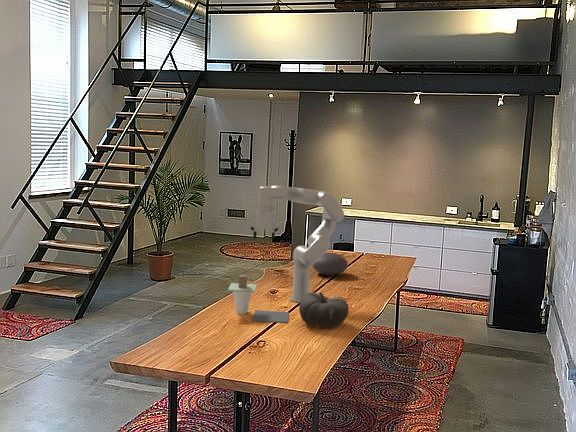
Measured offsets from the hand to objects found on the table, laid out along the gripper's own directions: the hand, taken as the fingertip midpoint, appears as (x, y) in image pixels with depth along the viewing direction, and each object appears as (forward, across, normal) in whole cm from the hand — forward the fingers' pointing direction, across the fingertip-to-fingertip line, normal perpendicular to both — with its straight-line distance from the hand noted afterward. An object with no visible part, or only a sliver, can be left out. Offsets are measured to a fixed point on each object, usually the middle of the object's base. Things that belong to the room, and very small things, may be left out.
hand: (263, 239), depth 353 cm
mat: (+36, -7, +27) cm, 46 cm away
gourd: (+37, -34, +35) cm, 61 cm away
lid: (+23, +9, +21) cm, 33 cm away
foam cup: (+36, +9, +21) cm, 43 cm away
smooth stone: (+36, -41, -79) cm, 96 cm away
